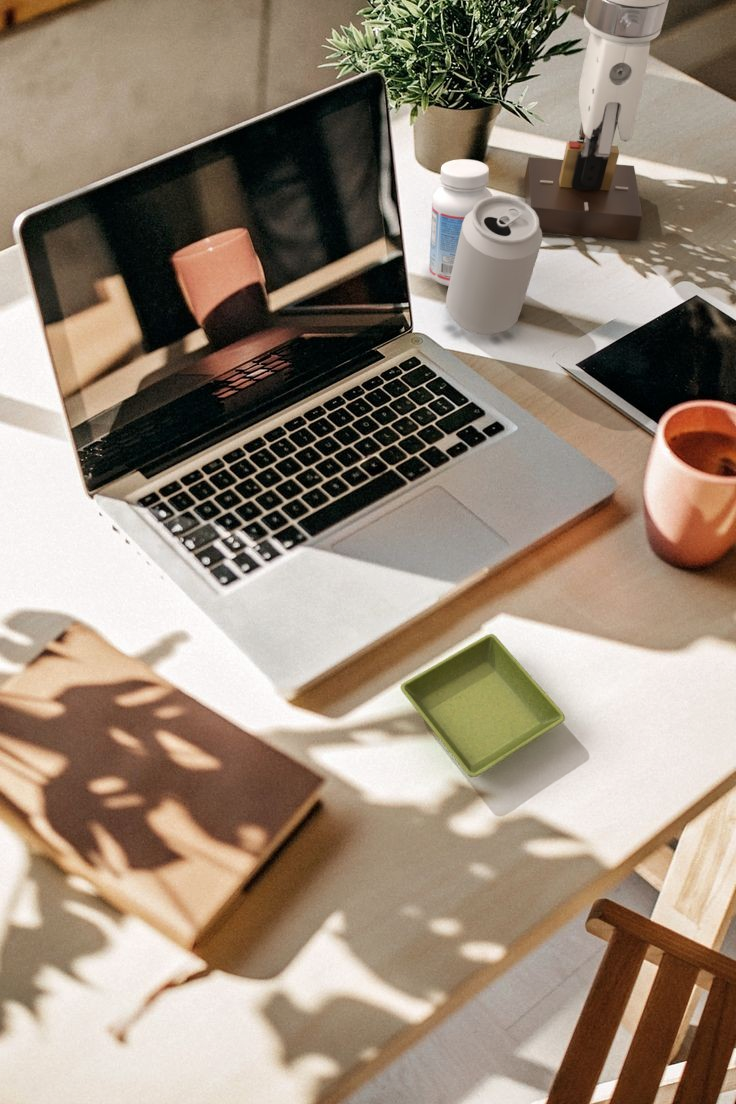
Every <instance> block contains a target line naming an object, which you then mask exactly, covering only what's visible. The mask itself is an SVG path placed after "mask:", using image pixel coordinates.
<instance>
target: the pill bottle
mask: <svg viewBox="0 0 736 1104" xmlns="http://www.w3.org/2000/svg"><path fill="white" fill-rule="evenodd" d="M489 176H490V168H489V166H488V164H486V163H484V162H482V161H479V160H476V159H467V158H466V159H465V158H463V159H462V158H461V159H460V158H459V159H453V160H448V161H446V162H444V163H443V164H442V165H441V167H440V176H439V181H440V184H441V185H442V186H440V187H438V188H437V189H436V190H435V192H434V193H433V196H432V200H431V218H430V219H431V221H430V241H429V242H430V243H429V263H428V264H429V267H428V271H429V276H430V277H431V278H432V280H434V281H435V282H436V283H438V284H440V285H443V286H445V287H449V282H450V278H451V273H452V269H453V264H454V259H455V255H456V250H457V246H458V241H459V236H460V232H461V227H462V223H463V221H464V219H465V216H466V215H467V214H468V213H469V212H470V211H472V210H473V208H474V206H475V205H476V204H477V203H478V202H479V201H480V200H483V199H485V198H488V197H492V196H493V194H492V192H491V191H490V189H488V188H487V186H488V184H489V181H490V179H489Z"/></svg>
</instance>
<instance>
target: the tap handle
mask: <svg viewBox="0 0 736 1104" xmlns="http://www.w3.org/2000/svg"><path fill="white" fill-rule="evenodd" d="M582 147H583V144H582V143H579V142H577V141H575V140H574V141H573V140H572V141H571V140H570V141H568V142H566V145H565V150H564V154H563V159H562V160H563V163H562V168H561V173H560V177H559V185H560V187H567V188H572V179H573V174H574V170H575V165H576V161H577V156H578V152H581V153H582ZM619 155H620V151H619V146H618V145H612V146H611V150H610V155H609V158H608V162H607V166H606V170H605V174H604V178H603V182H602V186H601V189H600V190H608V191H609V190H610V187H611V183H612V179H613V175H614V171H615V167H616V164H617V163H618V159H619Z"/></svg>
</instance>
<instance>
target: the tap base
mask: <svg viewBox="0 0 736 1104" xmlns="http://www.w3.org/2000/svg"><path fill="white" fill-rule="evenodd" d="M562 163H563V159H557V158H556V159H555V158H544V157H532V156H528V159H527V164H526V169H525V175H524V178H523V179H524V180H523V182H524V183H523V184H524V203H526V204H528V205H529V206H530V207H531V208H532V209H533V210H534V211H535V212H536V214H537V216H538V218H539V225H540V226H539V227H540V229H541V230H542V234H543V233H545V234H557V235H566V236H567V235H569V236H580V237H593V238H603V239H604V238H605V239H606V238H607V239H615V240H628V241H636V240H637V236H638V233H639V229H640V227H641V223H642V219H643V211H642V207H641V206H642V205H641V200H640V193H639V188H638V181H637V176H636V169H635V166H634V165H628V164H617V163H616V167H615V171H614V175H613V179H612V183H611V187H610V190H609V191H608V190H583V189H573V188H567V187H560V185H559V177H560V173H561V168H562Z"/></svg>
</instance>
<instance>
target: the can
mask: <svg viewBox="0 0 736 1104" xmlns="http://www.w3.org/2000/svg"><path fill="white" fill-rule="evenodd" d="M539 226H540V225H539V218H538V216H537V214H536V212H535V211H534V210H533V209H532V208H531V207H530V206H529V205H528V204H526V203H525V201H522V200H520V199H518V198H515V197H512V196H506V195H494V196H493V195H492V197H488V198H485V199H483V200H480V201H479V202H478V203H477V204H476V205H475V206H474V208H473V210H472V211H470V212H469V213H468V214H467V215H466V216H465V219H464V221H463V223H462V227H461V232H460V236H459V241H458V246H457V250H456V255H455V259H454V264H453V269H452V273H451V278H450V282H449V286H447V287H448V288H447V291H446V295H445V296H446V297H445V308H446V310H447V312H448V315H449V316H450V317H451V319H452V320H453V321H454V322H455V323H456V324H458V325H459V326H460V327H462V328H463V329H465V330H467V331H468V332H471V333H474V334H477V335H492V334H501V333H503V332H505V331H507V330H509V329H512V328H513V326H514V325H515V324H516V323H518V320H519V317H520V315H521V312H522V309H523V305H524V301H525V299H526V295H527V291H528V289H529V286H530V282H531V279H532V276H533V272H534V268H535V265H536V263H537V258H538V255H539V252H540V249H541V246H542V243H543V232H542V230H541V229H540V227H539Z"/></svg>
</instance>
